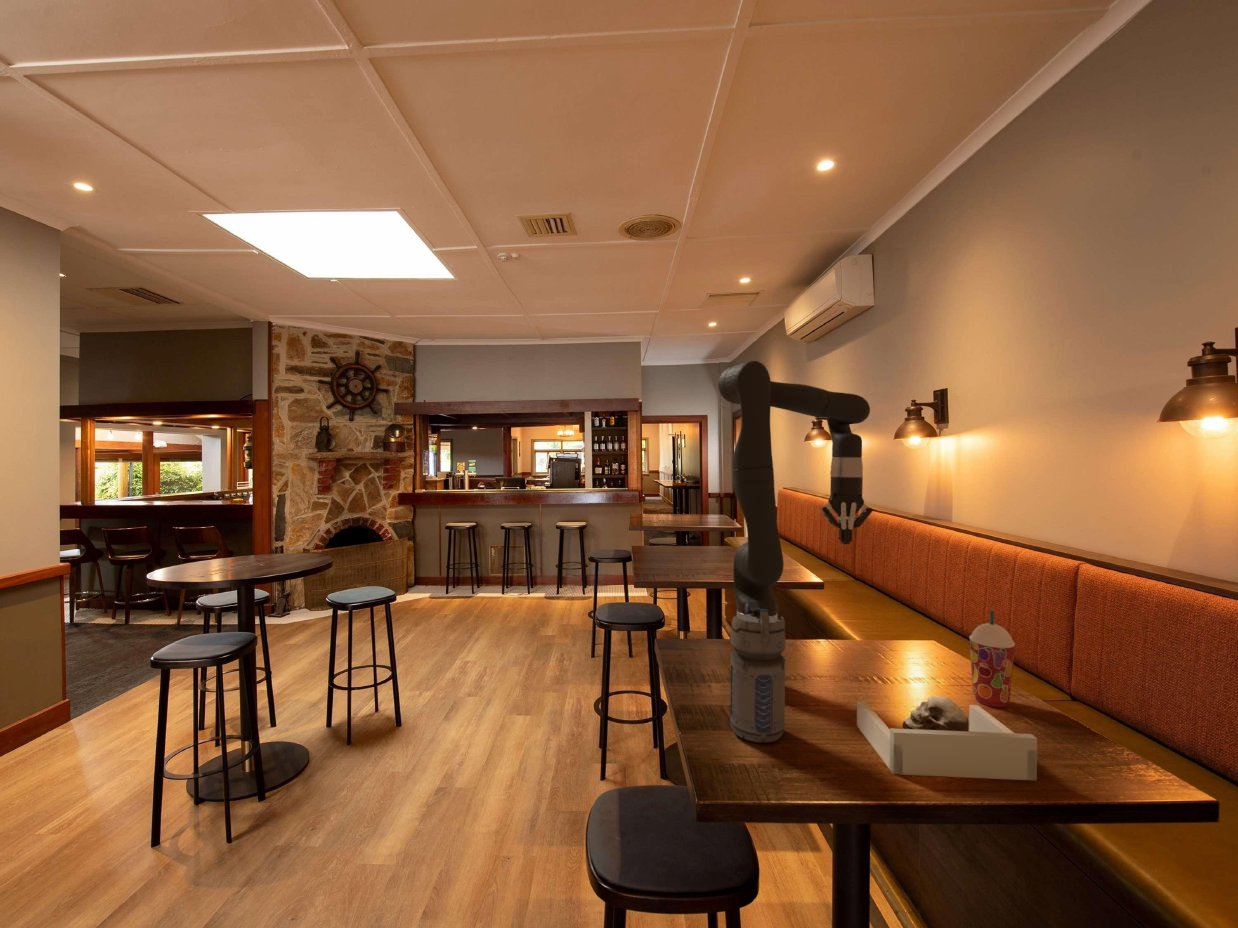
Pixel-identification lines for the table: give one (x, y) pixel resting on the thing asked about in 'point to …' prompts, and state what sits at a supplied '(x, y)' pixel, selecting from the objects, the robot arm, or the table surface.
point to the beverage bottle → (757, 675)
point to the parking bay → (953, 748)
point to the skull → (937, 716)
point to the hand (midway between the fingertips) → (845, 543)
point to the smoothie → (991, 663)
